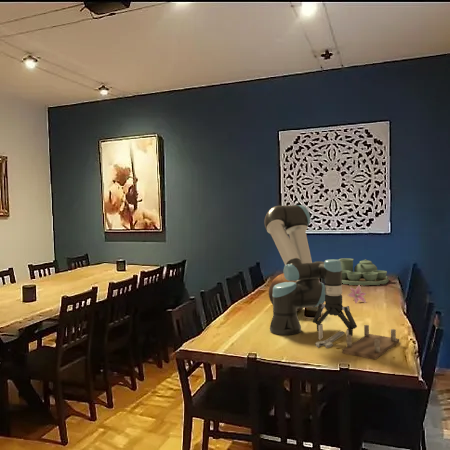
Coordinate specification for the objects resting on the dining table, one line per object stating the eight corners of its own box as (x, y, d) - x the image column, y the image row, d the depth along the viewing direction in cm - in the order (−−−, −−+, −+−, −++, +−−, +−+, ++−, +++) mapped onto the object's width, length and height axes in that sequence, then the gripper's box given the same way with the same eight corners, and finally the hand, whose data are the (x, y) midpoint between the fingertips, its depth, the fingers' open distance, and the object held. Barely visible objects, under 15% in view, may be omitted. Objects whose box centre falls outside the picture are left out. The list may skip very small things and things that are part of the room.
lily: (344, 304, 283) (349, 292, 278) (345, 293, 293) (349, 281, 288) (363, 310, 281) (369, 298, 276) (363, 299, 291) (368, 287, 287)
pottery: (262, 310, 270) (261, 267, 269) (294, 305, 281) (293, 264, 279) (284, 318, 250) (283, 272, 248) (318, 312, 260) (317, 268, 259)
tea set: (332, 285, 340) (332, 263, 340) (337, 277, 378) (336, 257, 377) (389, 287, 328) (389, 264, 327) (388, 278, 366) (388, 257, 365)
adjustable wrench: (339, 334, 220) (339, 330, 220) (352, 336, 216) (352, 332, 216) (313, 347, 201) (313, 343, 201) (326, 350, 197) (326, 345, 197)
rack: (342, 352, 191) (342, 337, 191) (368, 337, 212) (368, 323, 212) (375, 359, 182) (375, 343, 182) (399, 342, 203) (399, 327, 203)
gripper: (304, 293, 211) (305, 338, 212) (356, 298, 195) (357, 348, 196) (312, 290, 217) (313, 334, 218) (363, 295, 201) (364, 343, 202)
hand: (334, 341), depth 207 cm, fingers open, 13 cm apart
